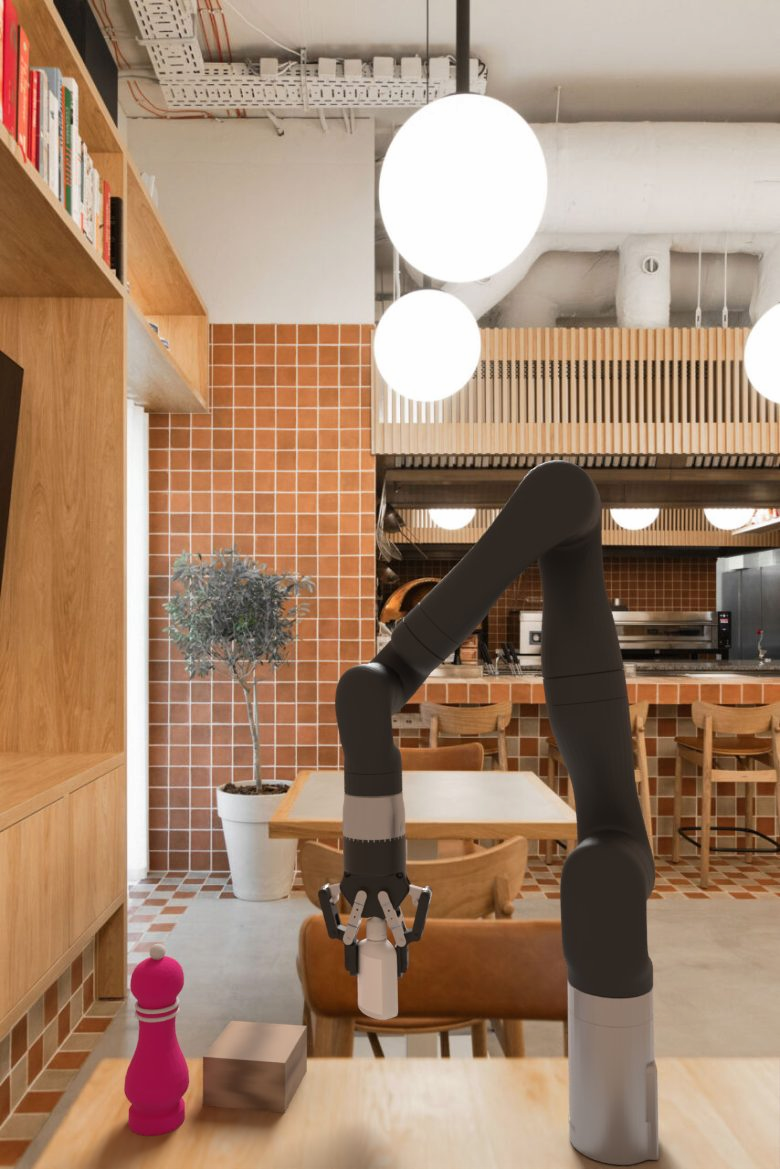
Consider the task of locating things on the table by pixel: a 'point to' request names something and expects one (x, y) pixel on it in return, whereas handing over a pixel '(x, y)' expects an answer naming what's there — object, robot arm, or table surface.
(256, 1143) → the table surface
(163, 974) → the pepper mill
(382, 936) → the eye dropper bottle
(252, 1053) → the walnut box
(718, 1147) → the table surface
